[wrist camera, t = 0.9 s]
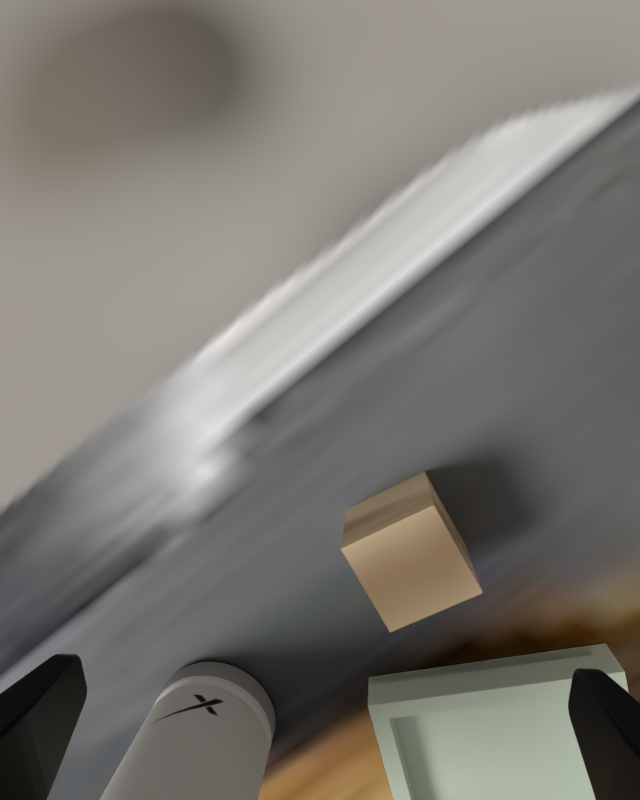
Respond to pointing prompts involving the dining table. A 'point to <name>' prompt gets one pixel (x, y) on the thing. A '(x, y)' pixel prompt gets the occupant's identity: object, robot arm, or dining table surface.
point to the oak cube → (408, 553)
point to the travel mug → (200, 739)
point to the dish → (486, 727)
